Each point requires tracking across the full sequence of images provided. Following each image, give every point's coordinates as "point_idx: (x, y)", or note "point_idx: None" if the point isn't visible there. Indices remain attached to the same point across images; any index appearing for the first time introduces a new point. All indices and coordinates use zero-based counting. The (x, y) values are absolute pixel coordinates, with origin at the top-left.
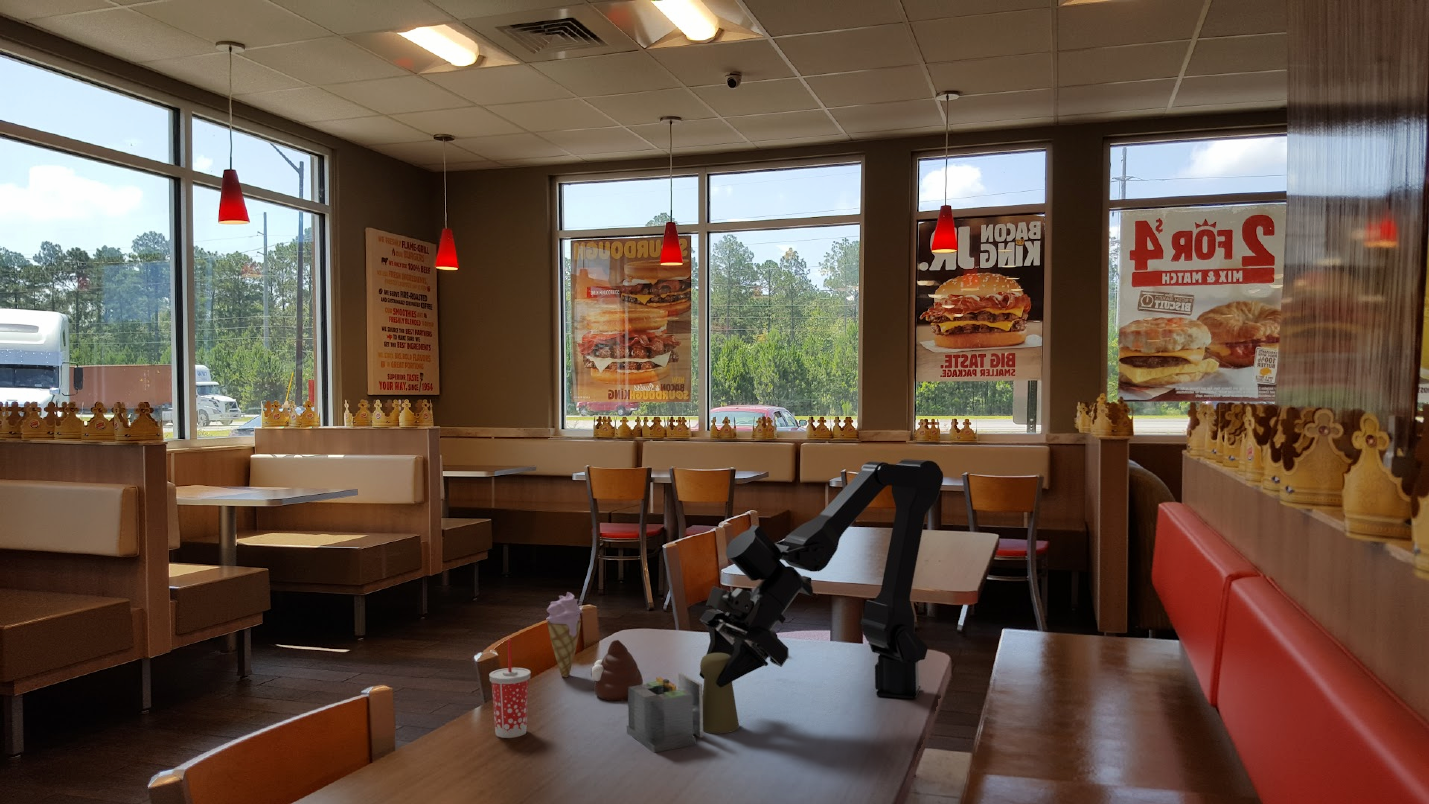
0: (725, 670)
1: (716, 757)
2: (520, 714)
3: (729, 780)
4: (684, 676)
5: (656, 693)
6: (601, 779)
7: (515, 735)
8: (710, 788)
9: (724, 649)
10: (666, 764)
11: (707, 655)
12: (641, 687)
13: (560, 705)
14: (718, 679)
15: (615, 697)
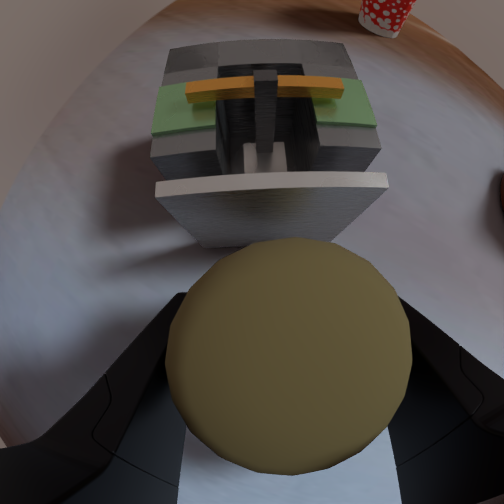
0: (136, 343)
1: (95, 228)
2: (367, 3)
3: (24, 208)
4: (327, 173)
5: (305, 100)
6: (138, 56)
7: (359, 20)
8: (25, 174)
9: (431, 467)
10: (121, 134)
11: (342, 297)
12: (323, 59)
13: (482, 113)
14: (172, 302)
15: (501, 186)
